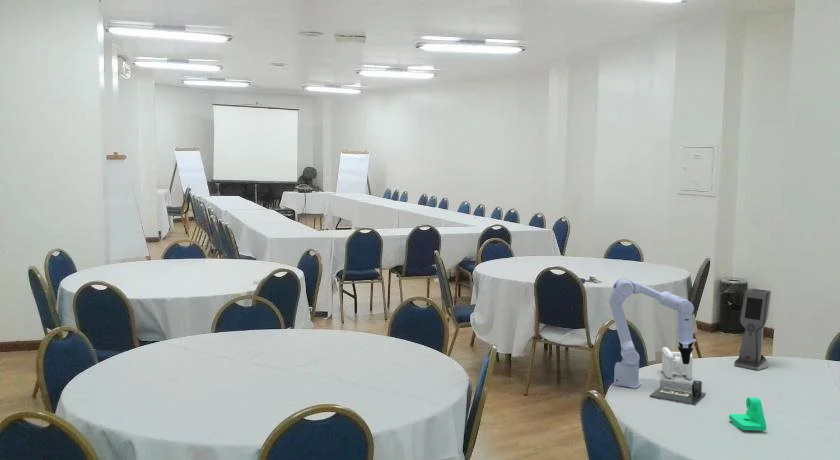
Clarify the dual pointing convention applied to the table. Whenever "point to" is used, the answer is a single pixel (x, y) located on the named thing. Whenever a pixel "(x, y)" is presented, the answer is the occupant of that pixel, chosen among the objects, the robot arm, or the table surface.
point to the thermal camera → (753, 328)
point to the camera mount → (750, 416)
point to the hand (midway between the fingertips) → (686, 361)
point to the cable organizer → (675, 364)
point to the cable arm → (682, 386)
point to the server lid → (677, 397)
